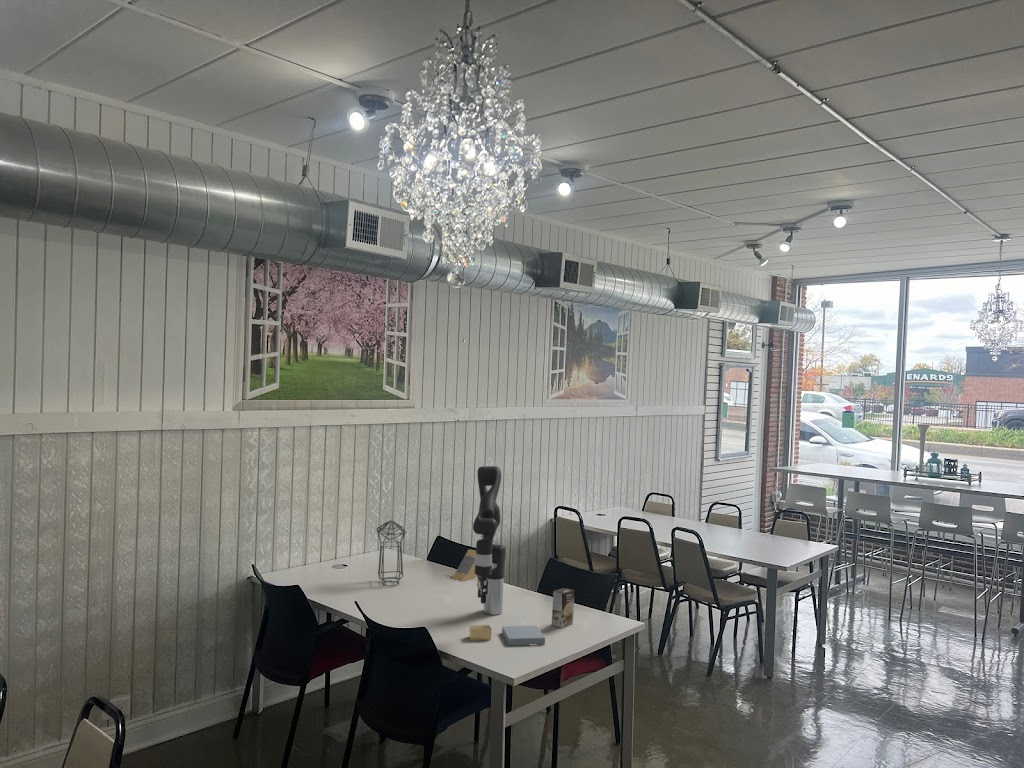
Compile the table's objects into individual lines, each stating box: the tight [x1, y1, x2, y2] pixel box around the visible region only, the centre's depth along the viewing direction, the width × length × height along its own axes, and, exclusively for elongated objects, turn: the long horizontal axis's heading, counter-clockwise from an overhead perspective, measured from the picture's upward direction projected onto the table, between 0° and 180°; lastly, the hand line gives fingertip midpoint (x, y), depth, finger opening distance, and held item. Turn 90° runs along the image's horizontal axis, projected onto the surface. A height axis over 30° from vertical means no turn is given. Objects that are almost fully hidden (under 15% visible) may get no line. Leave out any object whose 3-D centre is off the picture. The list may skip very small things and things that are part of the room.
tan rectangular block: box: [468, 624, 492, 641], centre depth 326 cm, size 5×9×5 cm, turn 101°
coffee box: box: [551, 587, 576, 629], centre depth 350 cm, size 9×6×16 cm
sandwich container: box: [451, 548, 478, 583], centre depth 425 cm, size 9×15×15 cm, turn 145°
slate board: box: [501, 625, 546, 646], centre depth 328 cm, size 16×16×3 cm
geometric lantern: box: [375, 519, 407, 586], centre depth 407 cm, size 16×16×35 cm
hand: (481, 600), depth 326 cm, fingers open, 8 cm apart
